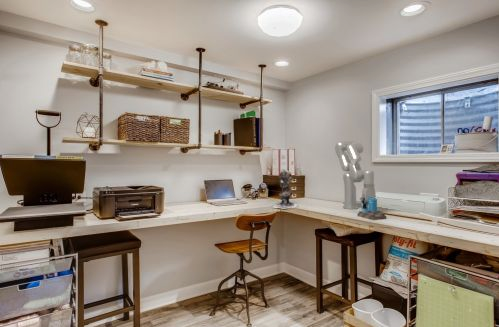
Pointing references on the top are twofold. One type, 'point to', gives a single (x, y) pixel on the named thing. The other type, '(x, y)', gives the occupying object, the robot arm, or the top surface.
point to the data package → (370, 205)
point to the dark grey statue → (285, 191)
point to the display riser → (371, 215)
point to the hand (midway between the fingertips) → (369, 208)
